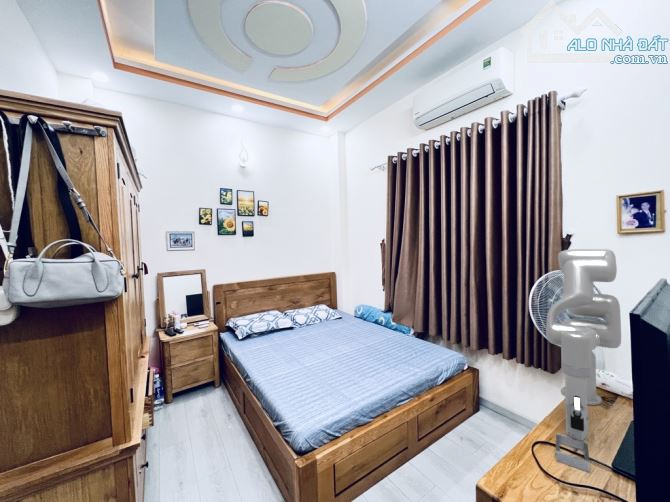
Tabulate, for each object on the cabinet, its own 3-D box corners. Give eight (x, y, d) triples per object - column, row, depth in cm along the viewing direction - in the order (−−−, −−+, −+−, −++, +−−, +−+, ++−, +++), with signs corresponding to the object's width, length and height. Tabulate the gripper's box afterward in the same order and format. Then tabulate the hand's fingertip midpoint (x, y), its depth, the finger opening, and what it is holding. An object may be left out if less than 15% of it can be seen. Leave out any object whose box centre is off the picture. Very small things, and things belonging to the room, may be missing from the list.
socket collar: (556, 440, 91) (556, 432, 91) (587, 450, 87) (587, 442, 86) (555, 460, 83) (555, 451, 83) (589, 472, 78) (589, 463, 78)
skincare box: (582, 441, 90) (581, 403, 90) (564, 434, 94) (564, 397, 94) (589, 434, 94) (588, 397, 94) (572, 427, 97) (571, 392, 97)
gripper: (561, 358, 103) (562, 407, 103) (561, 376, 89) (562, 432, 89) (589, 363, 98) (590, 414, 98) (593, 383, 84) (594, 442, 85)
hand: (576, 422), depth 94 cm, fingers open, 7 cm apart
